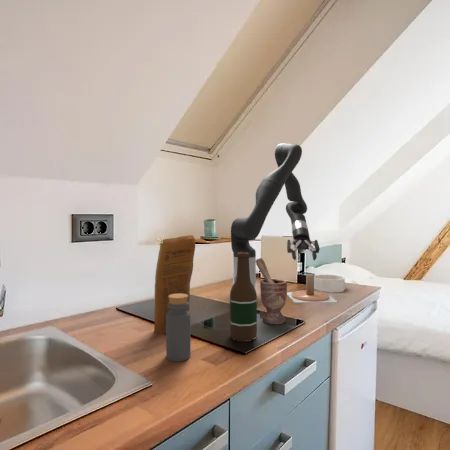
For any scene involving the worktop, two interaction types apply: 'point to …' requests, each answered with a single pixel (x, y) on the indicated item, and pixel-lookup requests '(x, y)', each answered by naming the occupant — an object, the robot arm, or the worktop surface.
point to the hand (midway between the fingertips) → (304, 259)
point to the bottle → (178, 328)
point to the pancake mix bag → (172, 275)
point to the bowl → (329, 283)
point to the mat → (309, 301)
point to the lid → (310, 292)
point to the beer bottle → (243, 302)
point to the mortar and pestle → (272, 295)
